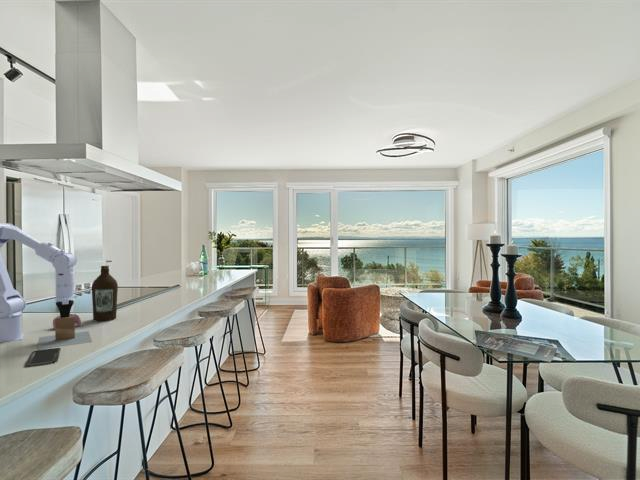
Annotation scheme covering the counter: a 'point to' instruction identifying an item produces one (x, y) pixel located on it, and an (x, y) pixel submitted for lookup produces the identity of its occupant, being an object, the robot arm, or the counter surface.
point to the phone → (43, 357)
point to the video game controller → (77, 319)
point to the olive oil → (104, 296)
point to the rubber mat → (50, 340)
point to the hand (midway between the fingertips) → (64, 320)
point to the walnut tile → (64, 328)
